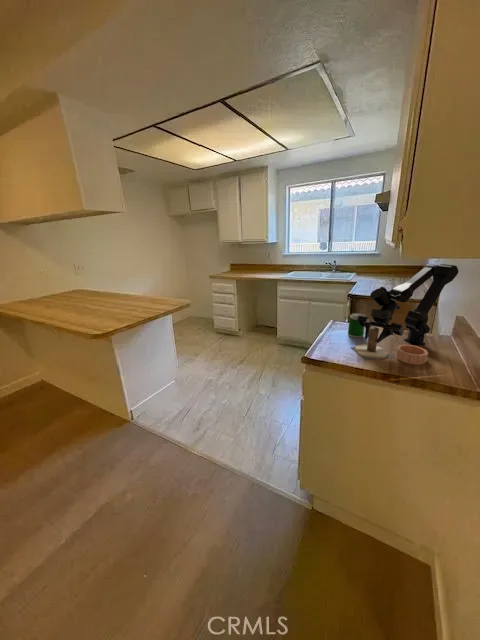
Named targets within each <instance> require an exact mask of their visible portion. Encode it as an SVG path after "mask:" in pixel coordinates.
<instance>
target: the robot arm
mask: <svg viewBox="0 0 480 640" xmlns="http://www.w3.org/2000/svg"><path fill="white" fill-rule="evenodd" d="M458 274H459V267H458V266H457V265H456V264H455V265H453V264H446V263H440V264H431V263H428V264H426V265H424V267H423V268H422V269H421V270H420V271H418V272H417V273H416V274H414V276H412V277H411V278H410V279H408V280H407V281H406V282H404V283H402V284H398V285H397V286H395V287H393V288H392V289H390V290H387V288H386V287H384V286H380V287H379V288H376V289H374V290H373V291H372V292H371V293H370V298H371V300H372V301H374V303H376V305H378V306H380V308H378V309H376V308H372V310H371V313H370V317H372V319H370V318H369V317H368V316H366V315H364V316H362V315H360V316H358V318H357V321H358V323H359V324H360V325H361V326H364V327H365V328H364V329H365V330H364V340H365V341H367V340H368V338H369V330H370V327H377V328H382V331H381V333H380V334H379V335H378V339H377V344H379V343H380V342H382V341H383V340H385V339H386V338H388V337H389V336H394V335H396V336H403V335H404V332H405V330H404V327H403V324H401V323H397V322H391V324H389V323H390V321H391V320H393V315H394V313H395V311H396V310H400V308H401V307H400V305H399V303H402V304H403V303H406V302H407V301H409V300H410V299H411V298H412V297H413V294H414V292H415V290H417V289H418V288H419V287H420V286H422V285H423V284H425V282H427V281H428V280H429V279H431V278H432V282H431V283H430V286H429V287H428V288H427V290H426V292H425V293H424V295H423V297H422V299H421V300H420V302H419V304H418V305H417V307H416V308H415V309H413V310H411V309H410V310H409V311H408V312H407V314H406V316H404V318H405V319H404V323H405V328H406V329H408V333H407V334H408V335H407V338H404V342H407V343H409V344H410V345H415V346H418V345H426V342H424V341H425V340H424V339H425V335H426V334H429V332H430V331H431V327H430V326H429V325H428V324H427V323H428V321H429V312H430V310H431V309H432V307H433V306H434V304H435V303H436V301H437V299H438V298H439V296H440V295H441V293H442V291H443V290H444V287H445V286H446V285H448V284H450V283H451V282H453V281H454V279H455V278H456V277H457V276H458ZM397 302H399V303H397Z"/></svg>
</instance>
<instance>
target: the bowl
mask: <svg viewBox="0 0 480 640" xmlns="http://www.w3.org/2000/svg"><path fill="white" fill-rule="evenodd" d="M394 356H395V358H396V359H398V360H399V361H401V362H403V363H406V364H410V365H418V366H419V365H424V364H426V363H427V360H428V356H429V352H428V350H427V349H426V348H423V347H421V346H418V345H413V344H399V345H397V346H396V350H395V355H394Z"/></svg>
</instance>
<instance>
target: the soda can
mask: <svg viewBox="0 0 480 640" xmlns="http://www.w3.org/2000/svg"><path fill="white" fill-rule="evenodd" d="M360 315H362V316H365V314H364V313H361V312H353V313H351V314H350V316H349V320H348V330H347V335H348V336H349V337H352V338H355V339H360V338H363V337H364V336H365V329H366V328H365V327H364V326H361V325H360V324H359V323H358V321H357V318H358V316H360Z"/></svg>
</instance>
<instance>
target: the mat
mask: <svg viewBox="0 0 480 640" xmlns="http://www.w3.org/2000/svg"><path fill="white" fill-rule="evenodd" d="M356 347H357V346H353V347H349V348H350V349H351V350H352V351H353V352H355V353H356V351H355V348H356ZM357 355H359V354H357ZM359 356H360V357H361V358H362V359H363V360H365V361H373V360H375V361H376V359H371V358H366V357H363V356H361V355H359ZM383 359H395V357H394V356H392V355H391V354H390V353H388V354H387V357H386V358H383ZM383 359H382V360H383Z"/></svg>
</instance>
